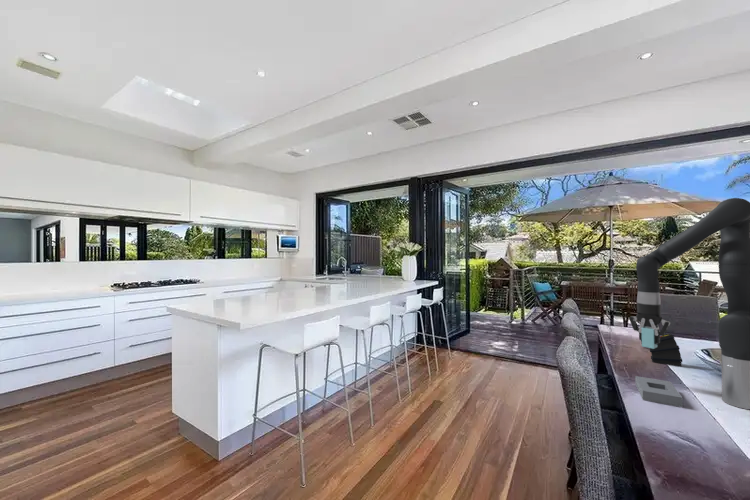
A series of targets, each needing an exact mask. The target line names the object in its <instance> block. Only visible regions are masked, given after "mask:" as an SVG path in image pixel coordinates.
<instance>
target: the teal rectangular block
mask: <svg viewBox="0 0 750 500" xmlns="http://www.w3.org/2000/svg"><path fill="white" fill-rule="evenodd" d="M654 335H655V334H654V329H652V327H650V326H646V327H644V328H642V342H641V347H643V348H649V349H650V348H652V349H654V348H657V344H655V343H654Z"/></svg>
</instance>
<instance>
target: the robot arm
mask: <svg viewBox="0 0 750 500" xmlns="http://www.w3.org/2000/svg"><path fill="white" fill-rule="evenodd" d="M717 232H719V234H720V243H719V250H718V260H717V261H718V276H719V280H720V282H721V285H722V288H723V290H724V292H725V294H726V298H727V314H726V315H723V316H722V317H721V318H720V319H719V320H718V325H717V328H718V344H719V348H720V351H721V355H720V356H721V357H720V358H721V359H720V360H721V400H722V402H724V403H726V404H728V405H730V406H733V407H737V408H740V409H745V410H750V201H748V200H747V199H745V198H741V197H731V198H727V199H725V200H723V201H721V202H720V203H719V204H717V206H716V207H715V208H713V209H712V210H711V211H709V212H708V214H706V215H705V216H704V217H702V219H700V220H699V221H698V222H697V221H696V223H694V224H692V225H691V226H690V227H688V228H686V229H684V230H683V231H681V232H679V233H678V234H676V235H674V236H673V237H671V238H670V239H668V240H666V241H664V242H663V243H661V244H660V245H659V246H658V247H657V248H655V249H654V250H652V251H651V252H649V253H647V254H646V255H643V256H640V257H639V258H638V259H637V261H636V265H635V266H636V268H635V269H636V276H637V297H636V303H637V305H636V306H637V307H636V308H637V314H636V316H629V317H628V319H629V322H630V324H631V328H632V330H634V332H635V331H636V332H638V339H639V341H640V342H641V343H642V328H644V327H652V329H654V334H655V335H654V343H655V344H658V343H660V336H661V335H665V334H667V333H668V330H669V328H670V326H671V324H672V323H671V321H670V320H665V319H663V318H662V310H661V309H662V306H661V305H662V304H661V303H662V302H661V295H660V293H661V289H660V280H659V276H658V275H659V269H660V268H662V267H663V266H665V265H667V264H668V263H669V262H670V261H673V260H675V259H677V258H679V257H680V256H682V255H684V254H685V253H687V252H688V251H690V250H692V249H693V248H694V247H697V245H699V244H701V243H702V242H703V241H705V240H706V239H707V238H709V237H711V236H712V235H713V234H716V233H717ZM637 320H638V321H639V323H640V324H638V323H637ZM660 324H662V328H661V331H660V327H659V325H660Z"/></svg>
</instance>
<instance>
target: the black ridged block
mask: <svg viewBox="0 0 750 500" xmlns="http://www.w3.org/2000/svg"><path fill="white" fill-rule="evenodd" d="M649 352H650V354H651V355H650V359H651V362H652V363H655V364H660V365H661V364H662V365H668V366H673V367H674V366H675V367H680V368H682V367H683V366H682V365H683V364H682V363H683V359H682V357H681V356H682V355H681V352H680V346H679V345H678V343H677V341H676V339H675V336H674V335H672V333H666V334H664V335H660V343H658V344H657V348H654V349H652V348H649Z"/></svg>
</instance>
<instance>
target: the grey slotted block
mask: <svg viewBox="0 0 750 500" xmlns="http://www.w3.org/2000/svg"><path fill="white" fill-rule="evenodd" d="M635 386H636V389H637V390H638V391H637V392H638V393H639V395H640V397H641V399H642V401H647V402H652V403H657V404H664V405H668V406H673V407H679V408H683V396H682V395H681V394H680V392H679V390H677V388H676V387H675V385H674V384H673V383H672V381H669V380H668V381H667V380H662V379H655V378H651V377H650V378H649V377H644V376H638V375H635Z"/></svg>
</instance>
